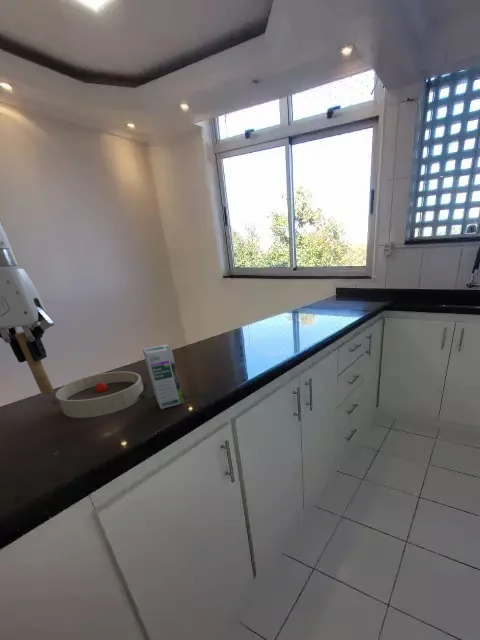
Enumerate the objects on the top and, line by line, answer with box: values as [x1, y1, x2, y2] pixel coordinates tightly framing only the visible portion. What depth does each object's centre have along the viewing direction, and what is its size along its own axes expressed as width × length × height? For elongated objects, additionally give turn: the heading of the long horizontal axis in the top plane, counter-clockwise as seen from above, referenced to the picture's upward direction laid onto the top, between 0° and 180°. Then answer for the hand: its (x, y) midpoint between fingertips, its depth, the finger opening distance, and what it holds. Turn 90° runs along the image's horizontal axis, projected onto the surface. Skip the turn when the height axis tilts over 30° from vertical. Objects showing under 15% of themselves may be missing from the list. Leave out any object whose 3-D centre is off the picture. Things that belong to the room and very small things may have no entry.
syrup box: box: [142, 344, 185, 410], centre depth 76 cm, size 6×6×14 cm
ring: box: [55, 370, 145, 419], centre depth 81 cm, size 19×19×4 cm
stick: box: [14, 331, 55, 395], centre depth 64 cm, size 2×2×13 cm
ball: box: [94, 383, 109, 393], centre depth 84 cm, size 3×3×3 cm
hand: (33, 359), depth 63 cm, fingers closed on stick, 2 cm apart
